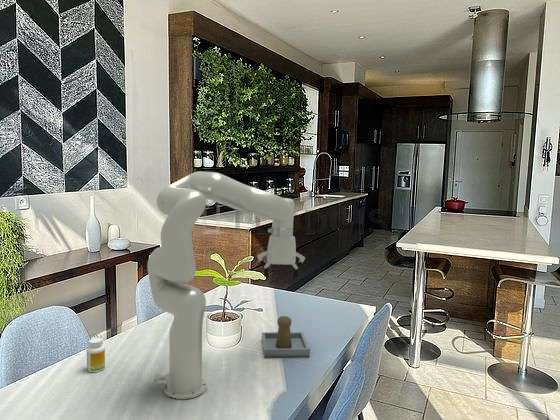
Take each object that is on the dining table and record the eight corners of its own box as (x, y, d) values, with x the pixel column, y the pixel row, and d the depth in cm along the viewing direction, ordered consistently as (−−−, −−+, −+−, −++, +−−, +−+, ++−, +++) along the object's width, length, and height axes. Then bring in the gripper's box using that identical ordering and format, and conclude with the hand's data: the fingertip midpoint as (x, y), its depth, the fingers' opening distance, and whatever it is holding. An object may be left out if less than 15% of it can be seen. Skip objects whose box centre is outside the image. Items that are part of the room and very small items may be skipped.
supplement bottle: (108, 367, 145) (108, 338, 144) (95, 374, 140) (94, 344, 139) (96, 363, 147) (96, 335, 146) (83, 370, 143) (82, 341, 142)
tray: (264, 358, 155) (264, 349, 155) (261, 339, 171) (261, 332, 171) (309, 357, 157) (309, 349, 157) (302, 339, 173) (302, 332, 173)
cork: (290, 350, 160) (291, 320, 159) (273, 348, 161) (274, 319, 160) (293, 343, 166) (294, 315, 165) (277, 342, 167) (278, 313, 166)
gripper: (258, 233, 156) (256, 281, 157) (307, 234, 157) (305, 282, 159) (258, 230, 163) (256, 275, 164) (304, 231, 164) (302, 277, 166)
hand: (280, 278), depth 162 cm, fingers open, 9 cm apart
